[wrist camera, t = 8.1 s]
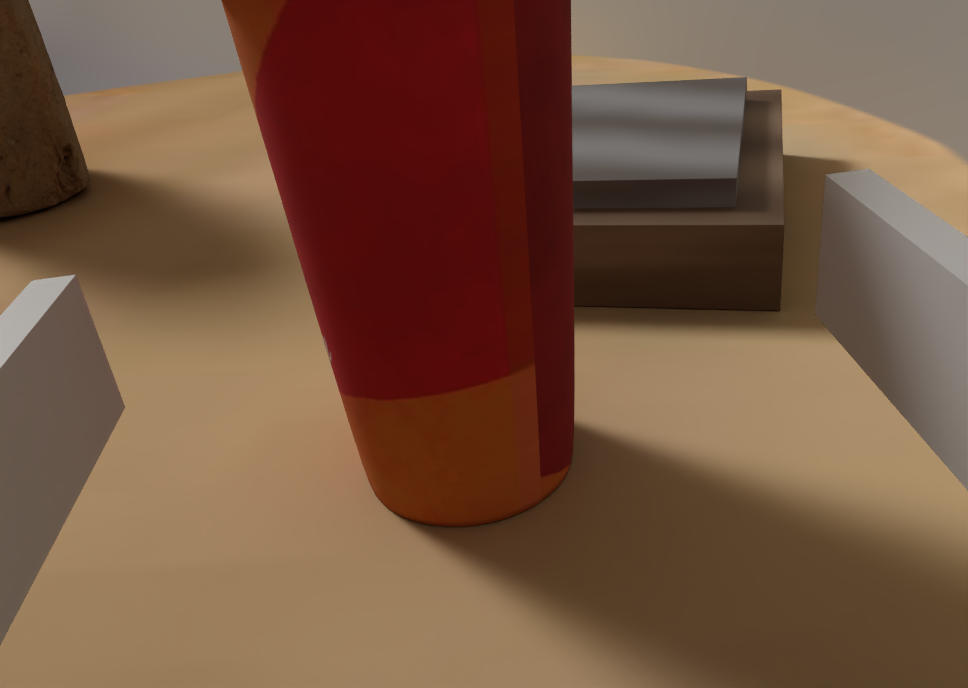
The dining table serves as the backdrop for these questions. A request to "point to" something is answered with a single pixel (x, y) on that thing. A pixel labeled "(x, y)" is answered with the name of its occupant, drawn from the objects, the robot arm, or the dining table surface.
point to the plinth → (678, 195)
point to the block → (33, 121)
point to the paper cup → (431, 232)
